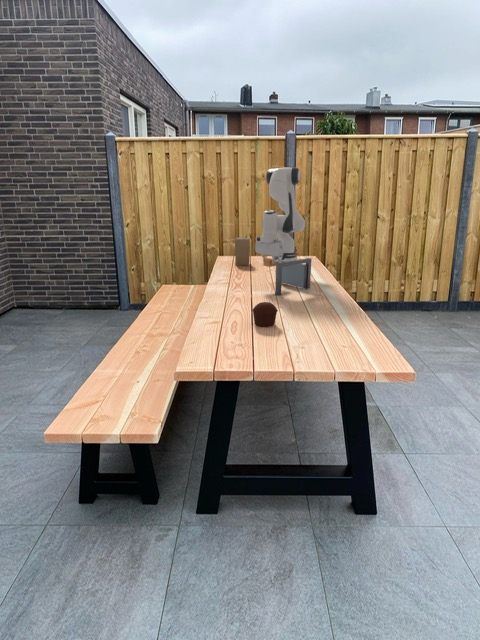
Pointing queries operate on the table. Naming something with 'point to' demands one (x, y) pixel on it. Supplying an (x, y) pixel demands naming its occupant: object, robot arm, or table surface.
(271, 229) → the robot arm
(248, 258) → the wooden block
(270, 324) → the muffin
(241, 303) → the table surface
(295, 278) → the door
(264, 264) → the orange stepped block
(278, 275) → the door frame
